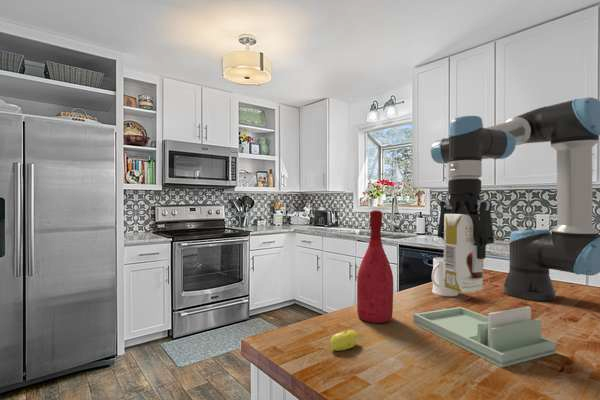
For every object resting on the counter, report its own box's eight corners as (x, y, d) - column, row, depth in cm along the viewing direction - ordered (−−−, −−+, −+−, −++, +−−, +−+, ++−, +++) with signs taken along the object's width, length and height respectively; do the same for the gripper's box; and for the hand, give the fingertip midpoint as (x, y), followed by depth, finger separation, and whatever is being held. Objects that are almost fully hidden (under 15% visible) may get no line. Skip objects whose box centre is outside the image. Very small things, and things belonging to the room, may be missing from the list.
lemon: (325, 348, 73) (325, 331, 73) (352, 340, 78) (352, 324, 78) (337, 356, 70) (337, 338, 70) (364, 347, 74) (365, 330, 74)
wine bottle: (399, 318, 93) (400, 210, 93) (381, 327, 86) (383, 211, 85) (368, 309, 99) (369, 209, 99) (349, 318, 92) (351, 210, 92)
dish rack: (460, 315, 95) (460, 284, 95) (555, 353, 72) (556, 311, 72) (413, 323, 89) (413, 289, 89) (501, 367, 66) (502, 322, 66)
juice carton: (438, 286, 86) (439, 213, 86) (462, 283, 90) (463, 213, 90) (463, 294, 79) (464, 214, 79) (488, 290, 83) (489, 214, 83)
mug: (440, 299, 111) (441, 263, 111) (420, 292, 119) (421, 259, 119) (463, 294, 117) (464, 260, 117) (442, 288, 124) (443, 256, 124)
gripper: (423, 180, 92) (422, 262, 93) (491, 175, 74) (489, 278, 74) (444, 181, 95) (442, 260, 95) (514, 177, 76) (512, 276, 76)
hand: (463, 268), depth 85 cm, fingers closed on juice carton, 8 cm apart
